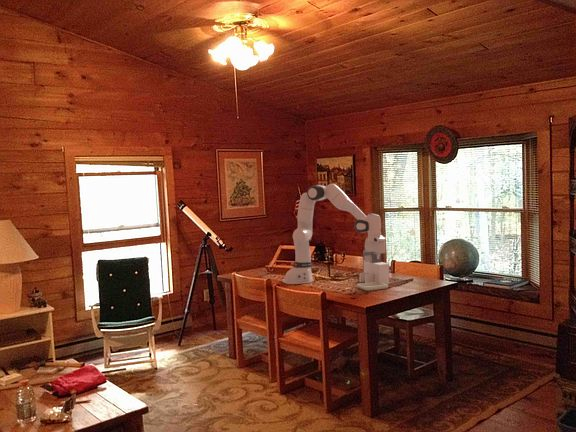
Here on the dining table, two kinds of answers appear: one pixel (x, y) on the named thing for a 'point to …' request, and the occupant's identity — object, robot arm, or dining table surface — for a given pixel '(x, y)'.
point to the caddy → (372, 258)
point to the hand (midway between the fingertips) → (375, 258)
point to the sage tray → (372, 286)
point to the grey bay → (375, 273)
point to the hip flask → (365, 253)
